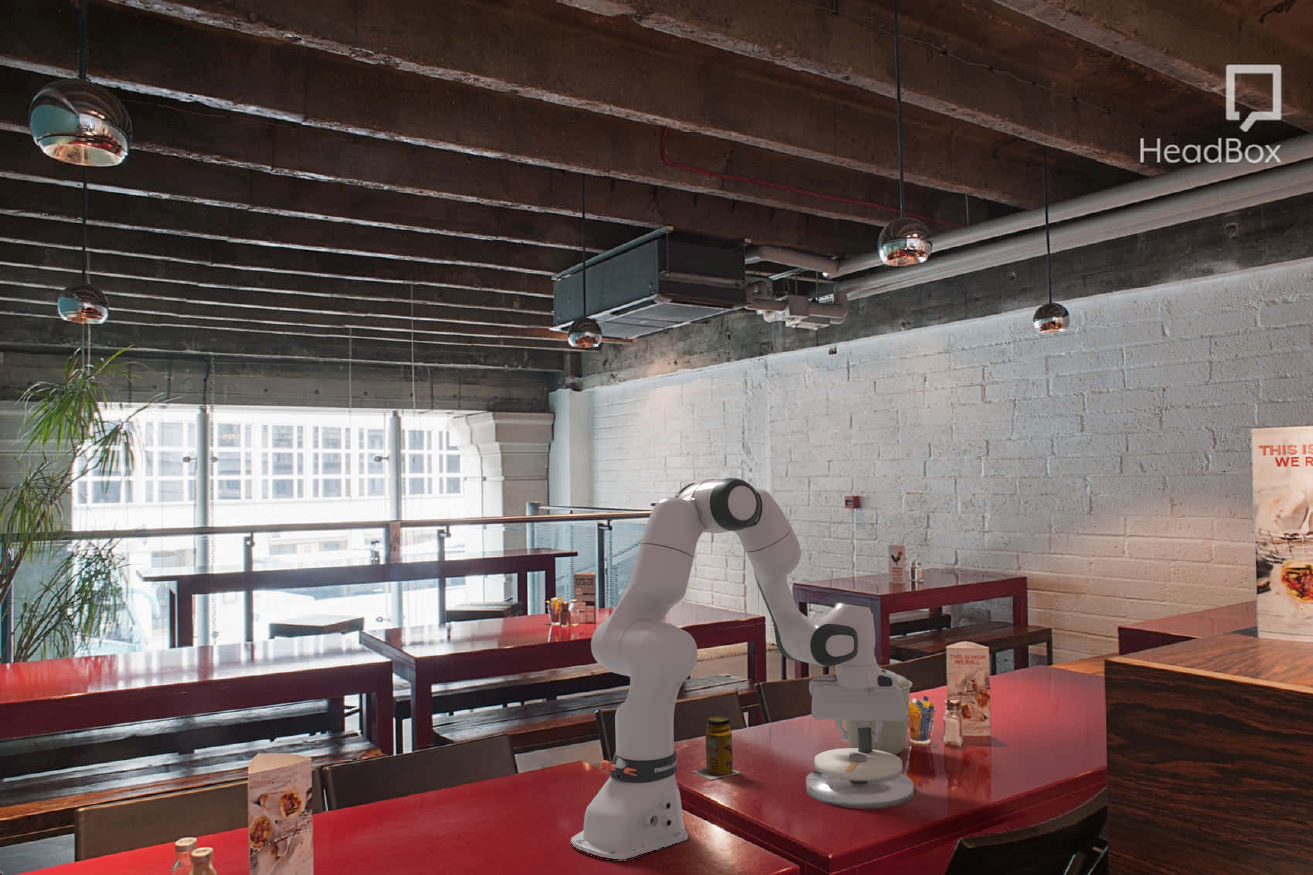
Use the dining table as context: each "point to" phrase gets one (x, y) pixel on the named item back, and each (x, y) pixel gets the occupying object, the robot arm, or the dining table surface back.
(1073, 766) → the dining table surface
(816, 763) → the handwheel
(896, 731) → the canister
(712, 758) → the condiment
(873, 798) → the disc
